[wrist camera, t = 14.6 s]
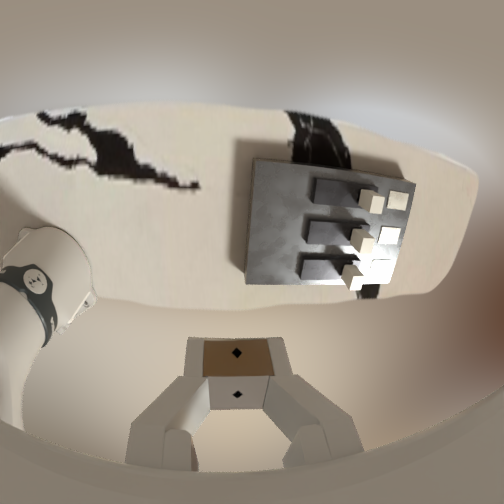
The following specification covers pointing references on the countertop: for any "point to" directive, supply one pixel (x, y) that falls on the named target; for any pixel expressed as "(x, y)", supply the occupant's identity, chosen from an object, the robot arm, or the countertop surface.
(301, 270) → the breaker panel
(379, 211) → the block
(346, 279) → the white short rectangular block
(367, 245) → the block
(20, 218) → the countertop surface
